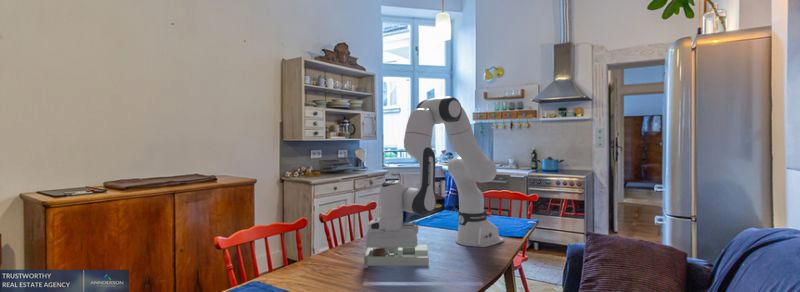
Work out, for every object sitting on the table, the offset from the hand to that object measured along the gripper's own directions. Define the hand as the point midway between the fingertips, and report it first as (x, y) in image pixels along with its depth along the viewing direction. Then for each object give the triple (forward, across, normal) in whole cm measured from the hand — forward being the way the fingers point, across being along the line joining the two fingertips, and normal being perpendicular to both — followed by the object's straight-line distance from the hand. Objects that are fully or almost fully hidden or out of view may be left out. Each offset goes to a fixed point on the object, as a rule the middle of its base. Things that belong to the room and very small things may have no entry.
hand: (391, 258), depth 149 cm
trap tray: (+2, -2, -3) cm, 4 cm away
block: (+1, +4, +1) cm, 5 cm away
